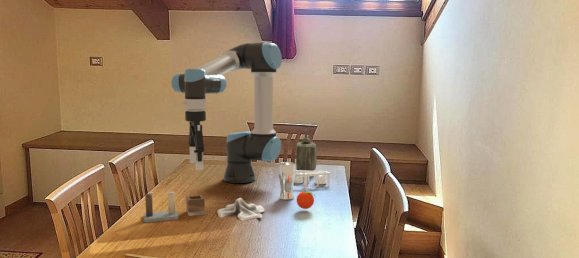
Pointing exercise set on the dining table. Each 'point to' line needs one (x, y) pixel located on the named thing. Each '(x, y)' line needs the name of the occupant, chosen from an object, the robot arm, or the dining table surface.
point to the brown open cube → (195, 205)
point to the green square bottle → (306, 154)
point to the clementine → (305, 199)
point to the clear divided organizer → (319, 176)
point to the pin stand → (162, 215)
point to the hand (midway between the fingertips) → (196, 166)
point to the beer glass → (286, 180)
